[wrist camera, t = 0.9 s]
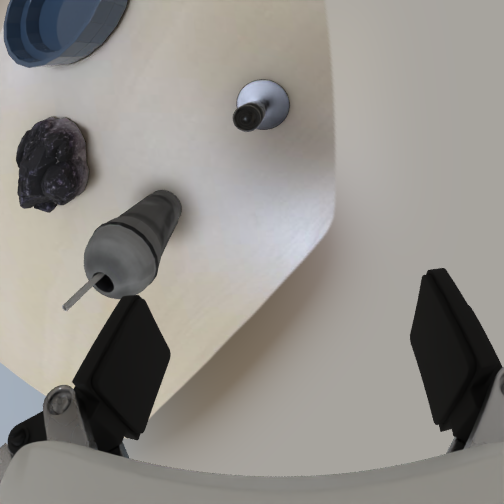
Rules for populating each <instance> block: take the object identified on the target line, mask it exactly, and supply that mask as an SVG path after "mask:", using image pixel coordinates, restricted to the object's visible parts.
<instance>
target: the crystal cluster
mask: <svg viewBox="0 0 504 504" xmlns="http://www.w3.org/2000/svg"><path fill="white" fill-rule="evenodd" d="M85 147H86V143H85V140H84V138H83V136H82V134H81V131H80V130H79V129H78V127H77V126H76V124H75V123H73V122H72V121H69V119H67V118H60V119H57V118H54V117H49V118H48V119H45V120H43V121H40V122H38V123H36V124H35V125H34V126H33V128H32V129H31V130H29V131H26V133H25V135H24V136H23V138H22V139H21V142H20V144H19V146H18V149H17V156H16V161H17V164H18V167H19V180H18V183H19V184H18V192H17V193H18V196H19V202H20V206H21V207H22V208H31V207H33V206H34V208H35V209H39V210H42V211H45V212H49V213H50V212H51V211H52V210H54V209H55V207H56V206H57V205H64V204H66V203H68V202H69V201H71V200H73V199H74V198H75V196H77V195H79V194H81V193H82V192H83V191H84V190H85V186H86V183H87V180H88V175H89V169H88V167H87V162H86V150H85Z"/></svg>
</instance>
